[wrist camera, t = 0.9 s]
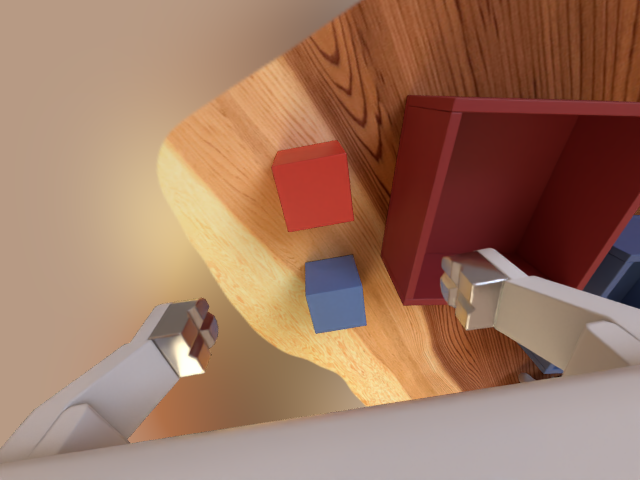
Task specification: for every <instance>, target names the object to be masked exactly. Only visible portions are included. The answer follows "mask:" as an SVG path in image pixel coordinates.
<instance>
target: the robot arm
mask: <svg viewBox="0 0 640 480" xmlns="http://www.w3.org/2000/svg"><path fill="white" fill-rule="evenodd" d="M441 268H442V269H443V270H444V271H445V272H444V274H443V275H442V276H441V277H440V288H441V292H442V295H443V297H444V299H445V301H446V302H447V304H448V305H450V306H452V307H454V308H456V309H455V315H456V317H457V318H458V320H459V321H460V323H461V324H462V325H463V327H464V328H465V330H466V331H467V330H474V329H482V328H489V327H494V328H495V329H496V330H498V331H500V332H501V333H503V334H505V335H506V336H508V337H509V338H511V339H513V340H514V341H516V342H518V343H519V344H521V345H523V346H524V347H526V348H527V349H529V350H531V351H532V352H534V353H536V354H537V355H539V356H540V357H542V358H544V359H545V360H547V361H549V362H550V363H552V364H553V365H555V366H557V367H558V368H560V369H562V370H563V371H564V372H563V374H562V376H561V377H556V378H549V379H543V380H536V381H530V382H523V383H517V384H510V385H504V386H497V387H491V388H485V389H478V390H472V391H465V392H459V393H453V394H446V395H440V396H433V397H427V398H420V399H414V400H408V401H401V402H395V403H388V404H382V405H376V406H369V407H363V408H356V409H350V410H344V411H338V412H330V413H324V414H318V415H312V416H305V417H298V418H291V419H285V420H279V421H272V422H266V423H259V424H253V425H246V426H240V427H233V428H227V429H220V430H214V431H208V432H201V433H194V434H188V435H181V436H175V437H168V438H162V439H155V440H149V441H143V442H136V443H130V442H129V441H128V440H127V439H128V438H129V437H130V436H131V435H132V433H133V432H134V431H135V430H136V429H137V428H138V427H139V425H140V424H141V423H142V422H143V421H144V420H145V418H146V417H147V416H148V415H149V414H150V413H151V411H152V410H153V409H154V408H155V407H156V406H157V405H158V403H159V402H160V401H161V400H162V399H163V398H164V396H165V395H166V394H167V393H168V392H169V391H170V389H171V388H172V387H173V386H174V385H175V384H176V383H177V381H178V380H179V378H181V377H186V376H191V375H197V374H202V373H205V372H206V369H207V366H208V363H209V360H210V357H211V353H210V350H209V349H210V348H211V347H212V346H213V345H214V344H215V343H216V340H217V337H218V324H217V320H216V318H215V316H214V315H212V314H210V313H209V312H208V309H209V305H208V303H207V301H206V299H204V298H197V299H190V300H184V301H177V302H172V303H166V304H160V305H158V306H156V307H155V308H154V309H153V311H152V312H151V314H150V315H149V317H148V318H147V319H146V321H145V322H144V323H143V325H142V326H141V328H140V329H139V331H138V332H137V333H136V335H135V336H134V338H133V339H132V341H131V342H130V343H128V344H124V345H123V346H121V347H120V348H119V349H117V350H116V351H114V352H113V353H112V354H110V355H109V356H108V357H106V358H105V359H103V360H102V361H101V362H99V363H98V364H96V365H95V366H94V367H92V368H91V369H90V370H88V371H87V372H85V373H84V374H83V375H81V376H80V377H79V378H77V379H76V380H74V381H73V382H72V383H70V384H69V385H68V386H66V387H65V388H63V389H62V390H61V391H59V392H58V393H56V394H55V395H54V396H52V397H51V398H50V399H48V400H47V401H46V402H44V403H43V404H41V405H40V406H39V407H37V408H36V409H34V410H33V411H32V412H31V414H30V415H29V416H28V417H27V418H26V420H25V421H24V422H23V423H22V424H21V425H20V426H19V428H18V429H17V430H16V431H15V432H14V433H13V434H12V436H11V437H10V438H9V439H8V440H7V442H6V443H5V444H4V445H3V446H2V447H1V448H0V480H640V309H638V308H634V307H631V306H628V305H625V304H622V303H619V302H616V301H612V300H609V299H606V298H603V297H600V296H597V295H594V294H590V293H587V292H584V291H581V290H578V289H575V288H572V287H568V286H565V285H562V284H559V283H556V282H553V281H550V280H546V279H543V278H540V277H537V276H528V275H526V274H525V273H524V272H523V271H521V270H520V269H519V268H518V267H516V266H515V265H514V264H512V263H511V262H510V261H509V260H507V259H506V258H505V257H504V256H502V255H501V254H500V253H499V252H497V251H496V250H495V249H493V248H485V249H480V250H475V251H473V252H467V253H461V254H456V255H450V256H444V257H443V259H442V262H441Z"/></svg>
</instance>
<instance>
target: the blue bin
mask: <svg viewBox="0 0 640 480" xmlns="http://www.w3.org/2000/svg"><path fill="white" fill-rule="evenodd" d="M582 291H584V292H587V293H590V294H594V295H597V296H600V297H603V298H606V299H609V300H612V301H616V302H619V303H622V304H625V305H628V306H631V307H634V308H638V309H640V215H633V217H632V218H631V220H630V221H629V222H628V224H627V225H626V227H625V228H624V230H623V231H622V233H621V234H620V236H619V237H618V239H617V240H616V242H615V243H614V245H613V246H612V247H611V249H610V250H609V252H608V253H607V255H606V256H605V258H604V259H603V261H602V262H601V264H600V265H599V267H598V268H597V269H596V271H595V272H594V274H593V275H592V277H591V278H590V280H589V281H588V283H587V284H586V286H585V287H584V289H583V290H582ZM517 343H518V342H517ZM518 344H519V343H518ZM519 345H520V346H521V348H522V349H523V350H524V351H525V352H526V354H527V355H528V356H529V357H530V358H531V359H532V361H533V362H534V363H535V364H536V365H537V367H538V368H539V369H540V370H541V371H542V372H543V373H544V374H551V373H563V372H564V371H563V370H562V369H560V368H558V367H557V366H555V365H553V364H552V363H550V362H549V361H547V360H545V359H544V358H542V357H540V356H539V355H537V354H536V353H534V352H532V351H531V350H529V349H527V348H526V347H524V346H523V345H521V344H519Z"/></svg>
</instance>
